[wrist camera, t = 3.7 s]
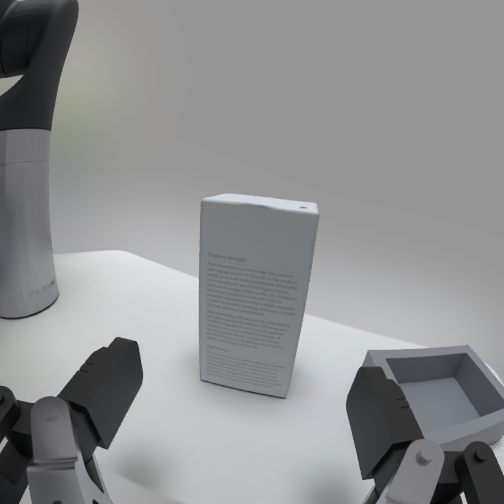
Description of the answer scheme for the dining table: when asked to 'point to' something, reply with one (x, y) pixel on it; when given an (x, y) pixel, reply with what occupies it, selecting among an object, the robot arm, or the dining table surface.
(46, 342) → the dining table surface
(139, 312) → the dining table surface
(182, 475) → the dining table surface
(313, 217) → the skincare box
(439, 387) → the gray tray
